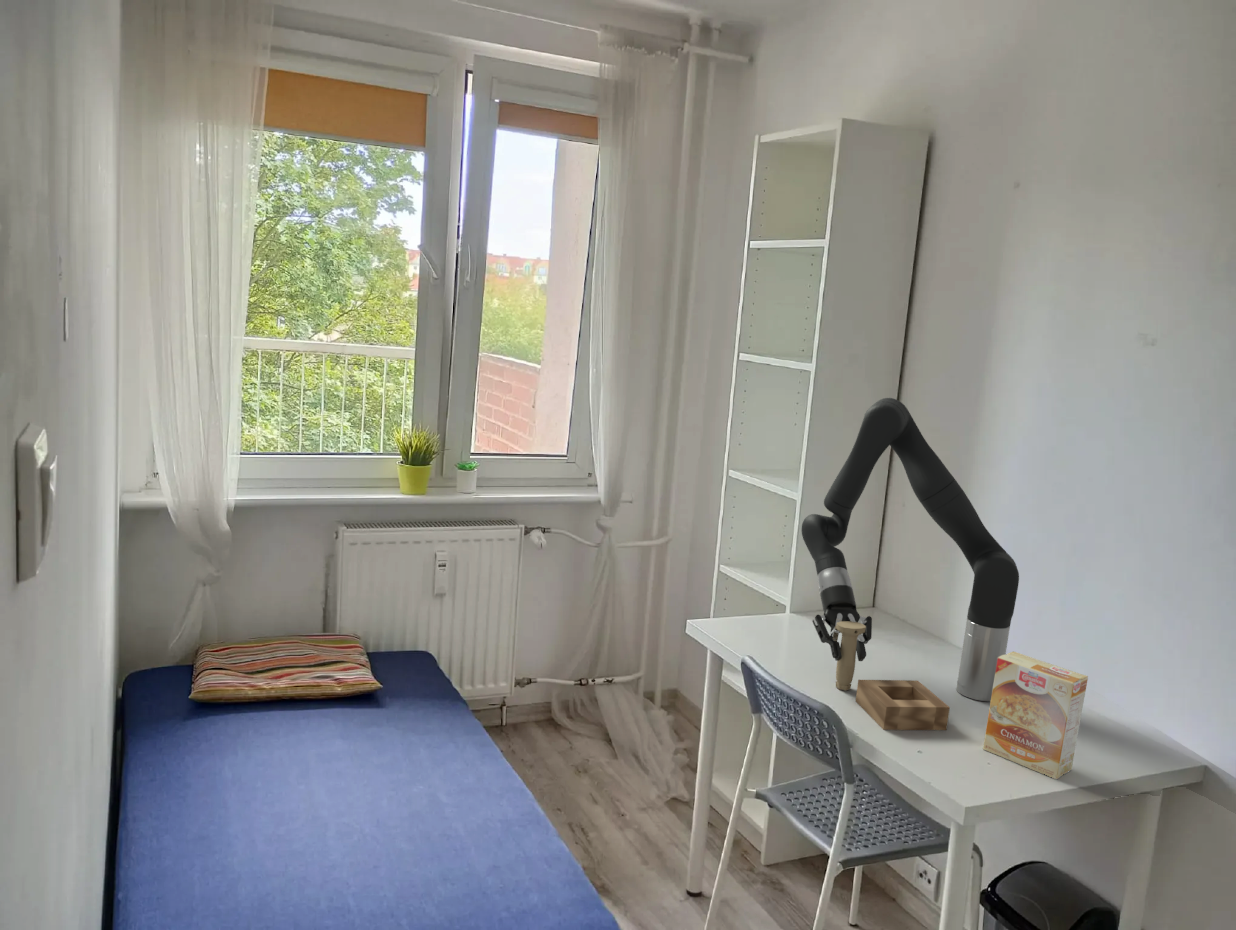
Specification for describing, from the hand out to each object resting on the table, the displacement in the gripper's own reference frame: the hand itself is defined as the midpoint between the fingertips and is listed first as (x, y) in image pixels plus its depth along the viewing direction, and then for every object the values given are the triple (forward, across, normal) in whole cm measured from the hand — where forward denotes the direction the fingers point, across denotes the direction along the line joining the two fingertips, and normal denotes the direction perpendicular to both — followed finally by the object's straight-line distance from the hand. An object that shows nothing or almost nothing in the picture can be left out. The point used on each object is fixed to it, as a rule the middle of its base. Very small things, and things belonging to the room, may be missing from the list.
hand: (850, 659), depth 214 cm
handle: (+4, 0, +7) cm, 8 cm away
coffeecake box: (+28, +24, -17) cm, 41 cm away
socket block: (+14, +7, -3) cm, 16 cm away
